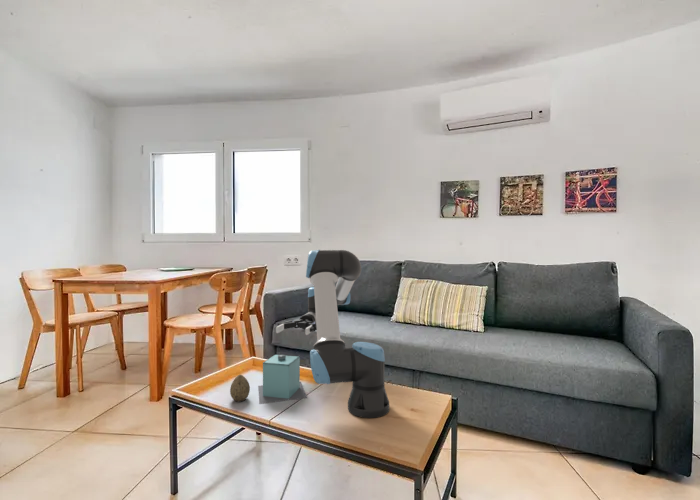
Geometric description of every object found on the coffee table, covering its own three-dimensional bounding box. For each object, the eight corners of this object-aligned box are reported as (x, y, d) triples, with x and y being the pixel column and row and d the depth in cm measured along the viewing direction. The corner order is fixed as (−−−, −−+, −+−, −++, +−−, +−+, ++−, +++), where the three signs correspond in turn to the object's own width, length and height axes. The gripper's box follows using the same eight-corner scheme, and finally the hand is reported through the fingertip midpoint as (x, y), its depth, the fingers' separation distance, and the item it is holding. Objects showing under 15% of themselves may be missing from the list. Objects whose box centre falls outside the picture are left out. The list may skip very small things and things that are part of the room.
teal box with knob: (299, 387, 142) (299, 352, 142) (288, 398, 131) (288, 360, 131) (275, 385, 144) (275, 351, 144) (262, 395, 134) (262, 358, 134)
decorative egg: (239, 406, 125) (239, 379, 125) (226, 402, 129) (226, 376, 129) (253, 399, 131) (253, 373, 132) (240, 395, 135) (240, 370, 135)
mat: (307, 399, 132) (307, 398, 132) (259, 405, 126) (259, 403, 126) (300, 382, 149) (300, 381, 149) (258, 387, 144) (258, 385, 144)
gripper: (332, 330, 165) (318, 341, 145) (285, 327, 171) (265, 337, 150) (332, 314, 165) (318, 323, 145) (285, 312, 171) (265, 320, 150)
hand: (291, 330), depth 147 cm, fingers open, 13 cm apart
